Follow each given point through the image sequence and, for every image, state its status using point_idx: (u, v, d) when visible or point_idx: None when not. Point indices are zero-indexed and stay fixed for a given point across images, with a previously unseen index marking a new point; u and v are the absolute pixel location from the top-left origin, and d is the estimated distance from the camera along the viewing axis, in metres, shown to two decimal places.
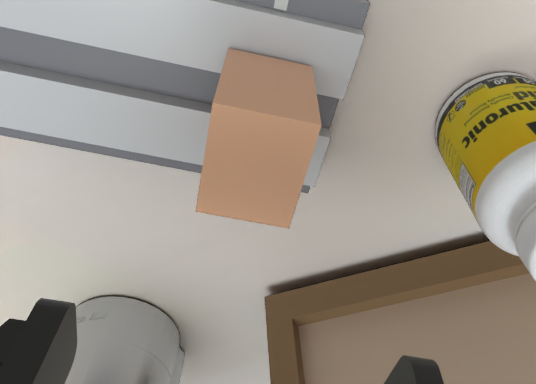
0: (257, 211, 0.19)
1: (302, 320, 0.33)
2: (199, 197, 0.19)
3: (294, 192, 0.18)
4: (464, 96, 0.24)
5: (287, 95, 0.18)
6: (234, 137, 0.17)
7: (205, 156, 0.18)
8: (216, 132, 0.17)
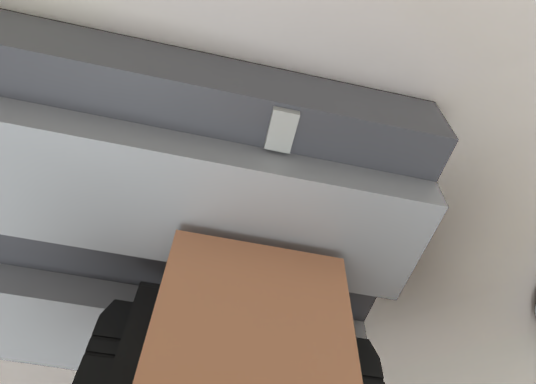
0: None
1: None
2: None
3: None
4: None
5: None
6: None
7: None
8: None
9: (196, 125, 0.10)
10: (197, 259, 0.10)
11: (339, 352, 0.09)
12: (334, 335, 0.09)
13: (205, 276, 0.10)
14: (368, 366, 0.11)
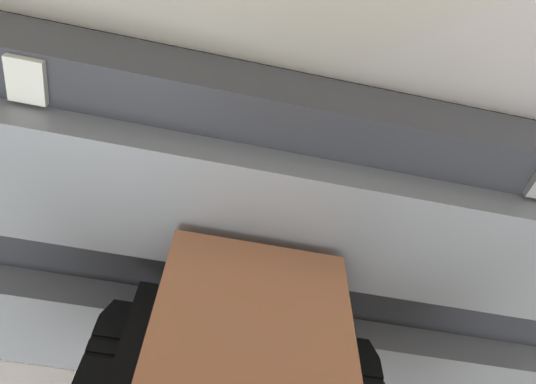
0: None
1: None
2: None
3: None
4: None
5: None
6: None
7: None
8: None
9: (463, 175, 0.11)
10: (196, 259, 0.10)
11: (339, 351, 0.09)
12: (334, 334, 0.09)
13: (204, 276, 0.10)
14: (369, 366, 0.11)
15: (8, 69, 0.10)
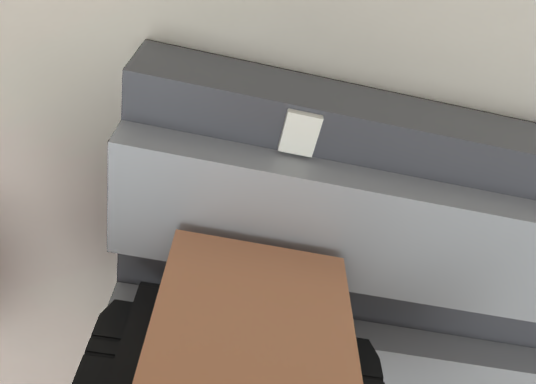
0: None
1: None
2: None
3: None
4: None
5: None
6: None
7: None
8: None
9: None
10: (197, 259, 0.10)
11: (339, 352, 0.09)
12: (334, 335, 0.09)
13: (205, 276, 0.10)
14: (368, 366, 0.11)
15: (287, 123, 0.10)
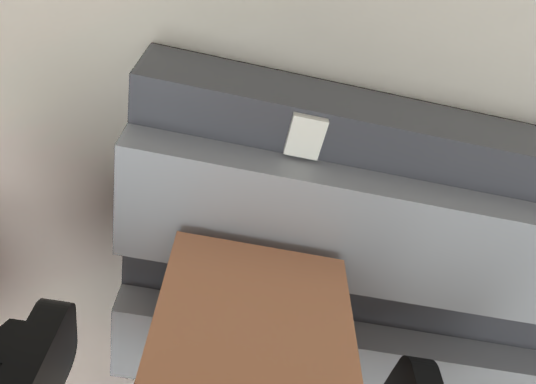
0: None
1: None
2: None
3: None
4: None
5: None
6: None
7: None
8: None
9: None
10: (198, 261, 0.10)
11: (340, 353, 0.09)
12: (335, 336, 0.09)
13: (206, 278, 0.10)
14: None
15: (293, 127, 0.10)
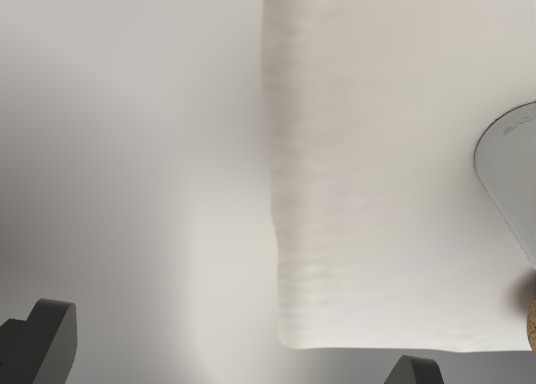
0: None
1: None
2: None
3: None
4: None
5: None
6: None
7: None
8: None
9: None
10: None
11: None
12: None
13: None
14: None
15: None
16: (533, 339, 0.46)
